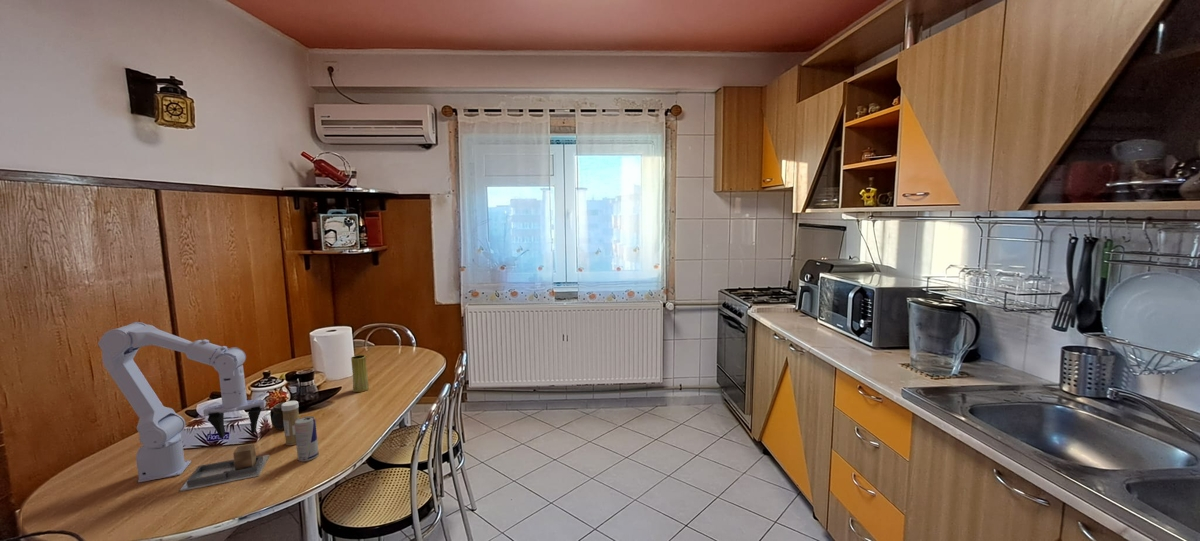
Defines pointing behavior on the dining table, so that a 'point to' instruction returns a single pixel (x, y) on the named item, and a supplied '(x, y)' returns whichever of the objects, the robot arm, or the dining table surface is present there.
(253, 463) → the walnut peg
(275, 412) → the mate gourd
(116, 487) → the dining table surface
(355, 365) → the vase
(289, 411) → the sprinkles bottle
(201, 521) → the dining table surface
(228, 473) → the keyhole plate
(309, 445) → the energy drink
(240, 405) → the robot arm
